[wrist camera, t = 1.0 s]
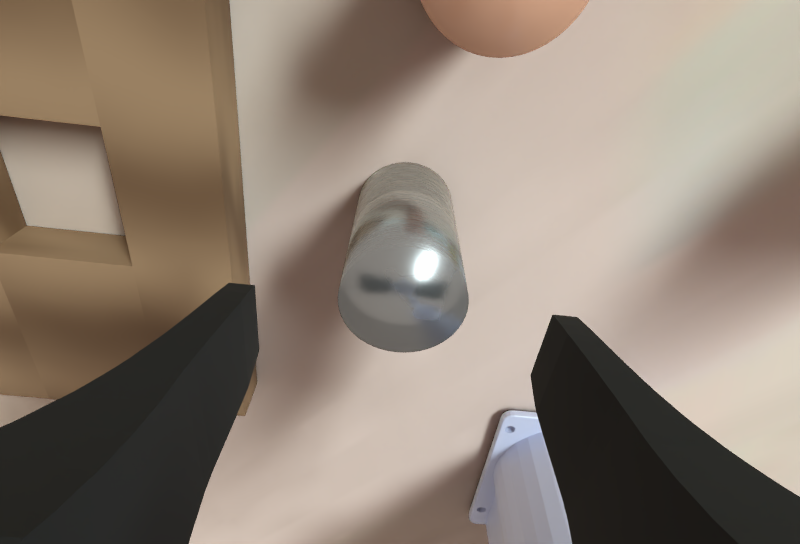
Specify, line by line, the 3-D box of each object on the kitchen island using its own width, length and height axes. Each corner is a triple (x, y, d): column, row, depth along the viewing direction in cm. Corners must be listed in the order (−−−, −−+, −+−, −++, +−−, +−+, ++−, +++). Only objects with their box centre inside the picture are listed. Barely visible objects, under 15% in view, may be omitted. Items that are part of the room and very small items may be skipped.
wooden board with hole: (257, 383, 23) (244, 416, 21) (-1, 359, 22) (-34, 391, 21) (216, -175, 12) (185, -197, 10) (-282, -245, 12) (-400, -282, 10)
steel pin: (443, 252, 19) (456, 357, 14) (355, 243, 19) (335, 345, 14) (459, 168, 17) (480, 254, 12) (361, 157, 17) (340, 239, 12)
